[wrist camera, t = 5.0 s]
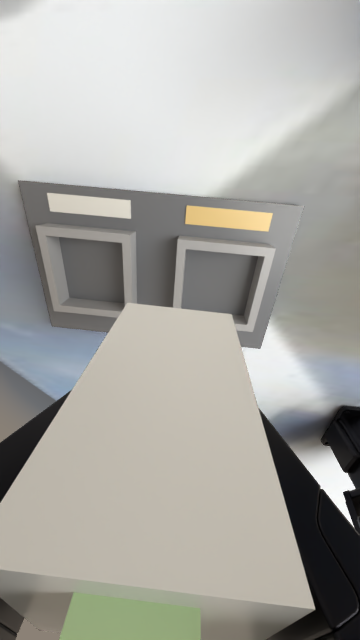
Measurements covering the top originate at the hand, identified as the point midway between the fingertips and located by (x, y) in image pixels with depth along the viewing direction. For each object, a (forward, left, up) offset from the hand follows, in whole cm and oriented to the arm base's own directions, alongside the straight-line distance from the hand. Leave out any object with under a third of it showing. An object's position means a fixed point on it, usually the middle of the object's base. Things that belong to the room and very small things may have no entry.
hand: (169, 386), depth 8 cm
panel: (+2, 0, -13) cm, 13 cm away
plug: (0, 0, -2) cm, 2 cm away
